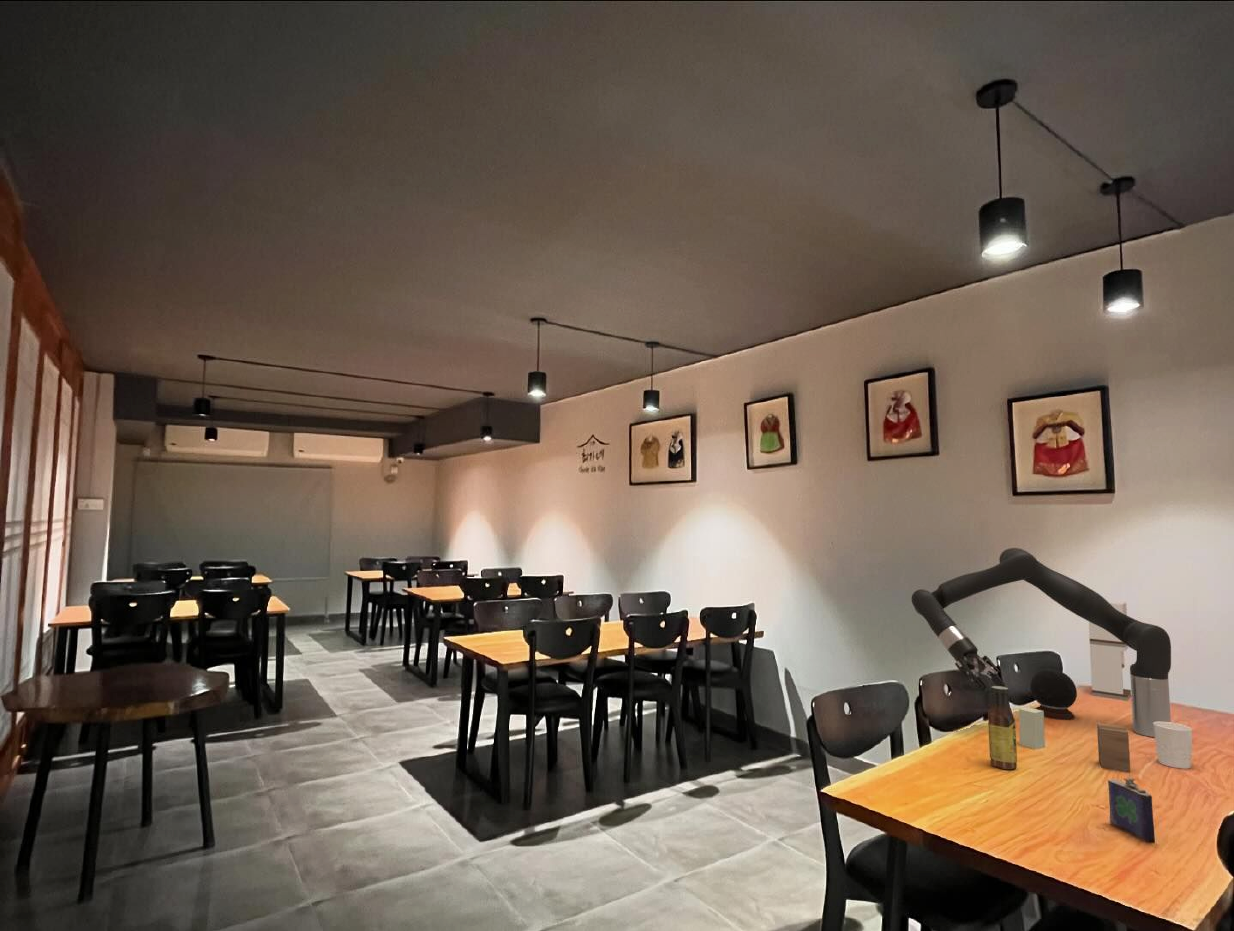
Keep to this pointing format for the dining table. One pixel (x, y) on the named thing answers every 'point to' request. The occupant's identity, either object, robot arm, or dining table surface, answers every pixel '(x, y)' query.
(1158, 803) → the dining table surface
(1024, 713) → the sage block
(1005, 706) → the sauce bottle
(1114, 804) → the flask
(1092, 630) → the mini white fridge
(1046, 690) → the black oval
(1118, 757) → the tower lower
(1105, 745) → the tower upper
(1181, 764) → the white cup
